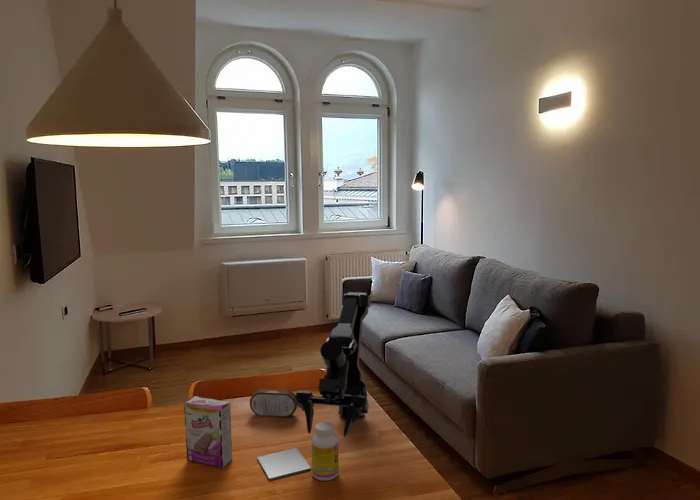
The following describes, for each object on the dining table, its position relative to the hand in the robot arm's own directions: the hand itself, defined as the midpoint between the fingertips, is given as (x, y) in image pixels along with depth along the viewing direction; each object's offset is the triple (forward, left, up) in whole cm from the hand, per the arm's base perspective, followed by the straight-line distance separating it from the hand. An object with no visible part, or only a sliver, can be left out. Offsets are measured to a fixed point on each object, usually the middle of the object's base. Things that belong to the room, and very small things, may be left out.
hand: (326, 434), depth 133 cm
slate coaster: (+9, -8, -10) cm, 15 cm away
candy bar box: (+26, -18, -10) cm, 33 cm away
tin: (+3, -36, -10) cm, 37 cm away
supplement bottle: (+1, +1, -10) cm, 10 cm away
